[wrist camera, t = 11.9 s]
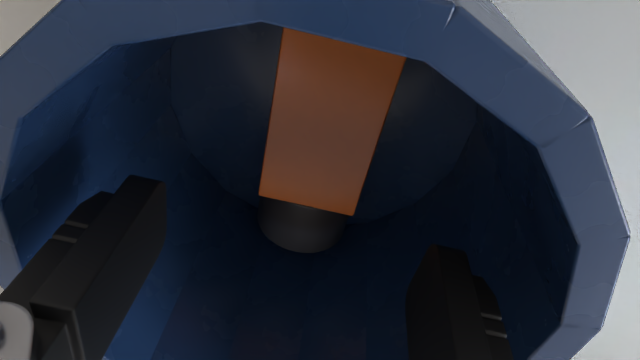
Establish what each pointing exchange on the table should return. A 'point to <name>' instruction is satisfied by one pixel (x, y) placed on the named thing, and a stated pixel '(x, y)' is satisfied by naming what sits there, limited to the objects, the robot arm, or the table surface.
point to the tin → (246, 165)
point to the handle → (321, 137)
